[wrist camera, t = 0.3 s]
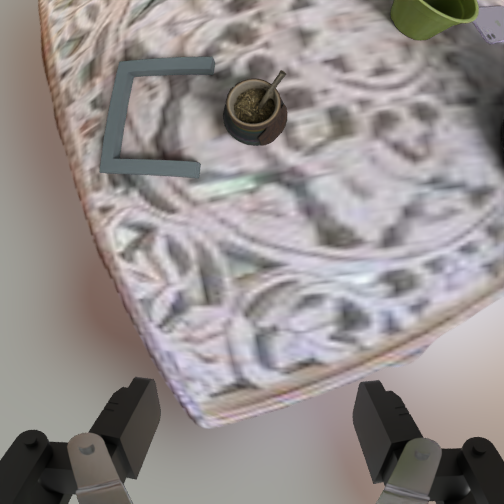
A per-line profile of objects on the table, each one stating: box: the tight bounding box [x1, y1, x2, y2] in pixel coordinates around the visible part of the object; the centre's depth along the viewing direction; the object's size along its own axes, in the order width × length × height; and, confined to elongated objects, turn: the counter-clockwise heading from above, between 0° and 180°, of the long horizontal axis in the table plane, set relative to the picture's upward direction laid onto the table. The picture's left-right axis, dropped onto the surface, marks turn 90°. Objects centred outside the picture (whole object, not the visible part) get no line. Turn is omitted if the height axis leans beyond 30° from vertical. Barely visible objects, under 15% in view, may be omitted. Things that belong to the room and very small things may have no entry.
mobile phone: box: [472, 6, 504, 44], centre depth 30 cm, size 8×1×15 cm
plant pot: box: [390, 0, 479, 40], centre depth 27 cm, size 12×12×11 cm
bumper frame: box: [100, 57, 215, 178], centre depth 36 cm, size 16×13×2 cm
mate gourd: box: [223, 70, 287, 146], centre depth 31 cm, size 7×8×10 cm
